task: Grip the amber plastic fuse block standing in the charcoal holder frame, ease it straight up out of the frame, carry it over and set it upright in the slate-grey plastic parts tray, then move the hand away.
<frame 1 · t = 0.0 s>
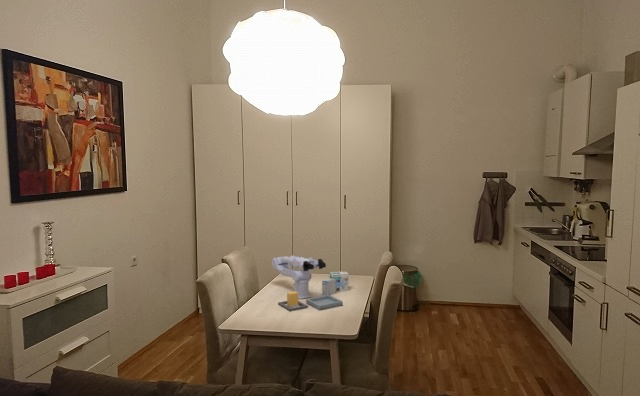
hand: (319, 266, 245), 22 cm above the table, tool horizontal, fingers open, 7 cm apart
holder frame: (292, 306, 245), on the table
white printed carton: (339, 290, 277), on the table
parts tray: (324, 304, 247), on the table
fuse block: (292, 299, 245), in the holder frame
medicine box: (329, 294, 268), on the table
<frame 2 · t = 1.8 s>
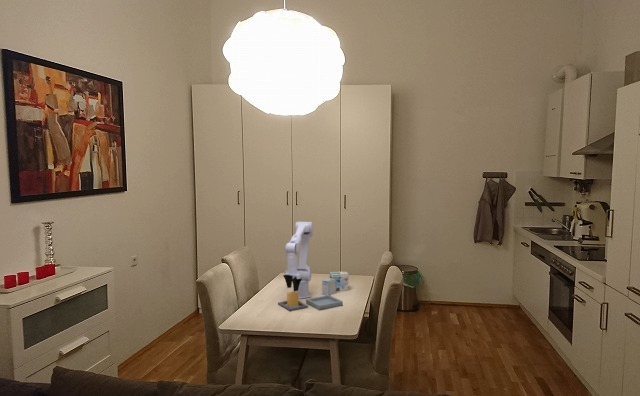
hand: (292, 289, 244), 10 cm above the table, tool pointing down, fingers open, 7 cm apart
nothing on the table moved.
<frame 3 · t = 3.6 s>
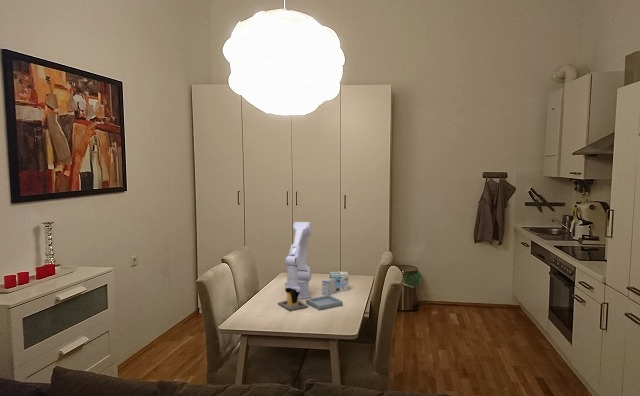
hand: (292, 301, 245), 2 cm above the table, tool pointing down, fingers closed on fuse block, 3 cm apart
fuse block: (292, 299, 245), in the holder frame, touching gripper
everything else where it was.
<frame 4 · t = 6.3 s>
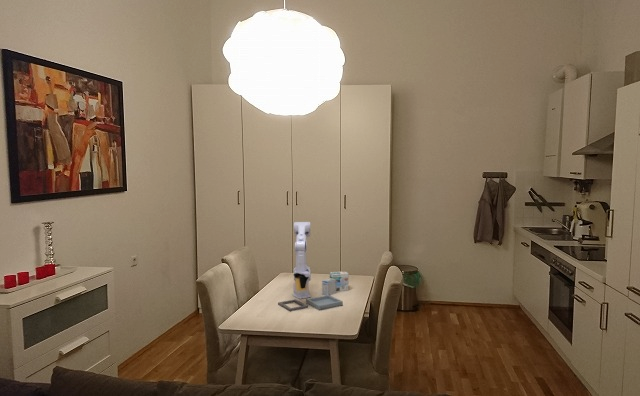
hand: (301, 287, 245), 10 cm above the table, tool pointing down, fingers closed on fuse block, 3 cm apart
fuse block: (301, 284, 245), point 12 cm above the table, touching gripper
everything else where it was.
when the fingers open (5 cm above the table, at t = 9.0 s): fuse block drops 2 cm, resting on parts tray.
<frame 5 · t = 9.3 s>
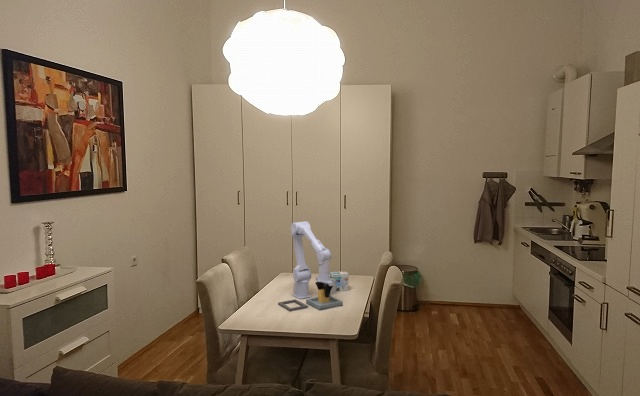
hand: (324, 295, 247), 5 cm above the table, tool pointing down, fingers open, 6 cm apart
fuse block: (323, 296, 247), in the parts tray, point 5 cm above the table
everything else where it was.
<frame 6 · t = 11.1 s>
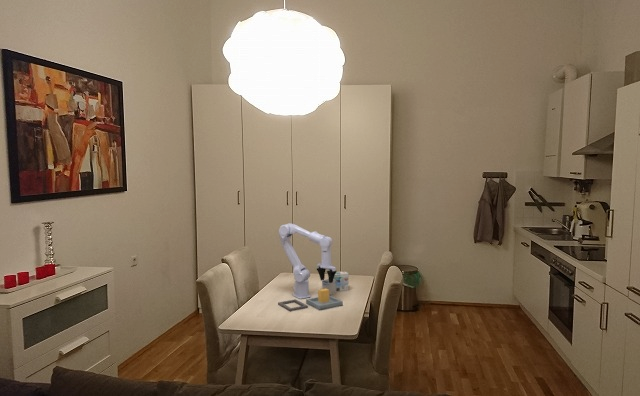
hand: (326, 281, 257), 10 cm above the table, tool pointing down, fingers open, 7 cm apart
nothing on the table moved.
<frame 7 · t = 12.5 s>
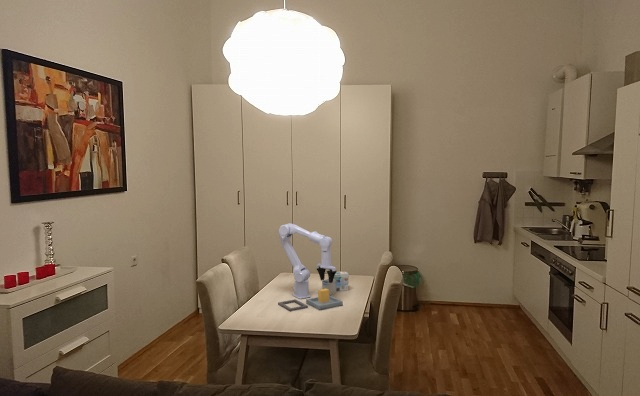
hand: (326, 281, 257), 10 cm above the table, tool pointing down, fingers open, 7 cm apart
nothing on the table moved.
at the end: fuse block inside the target area on the parts tray (0.3 cm from its centre), point 4.6 cm above the parts tray's base; fuse block tilted 0°; the gripper is holding nothing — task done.
